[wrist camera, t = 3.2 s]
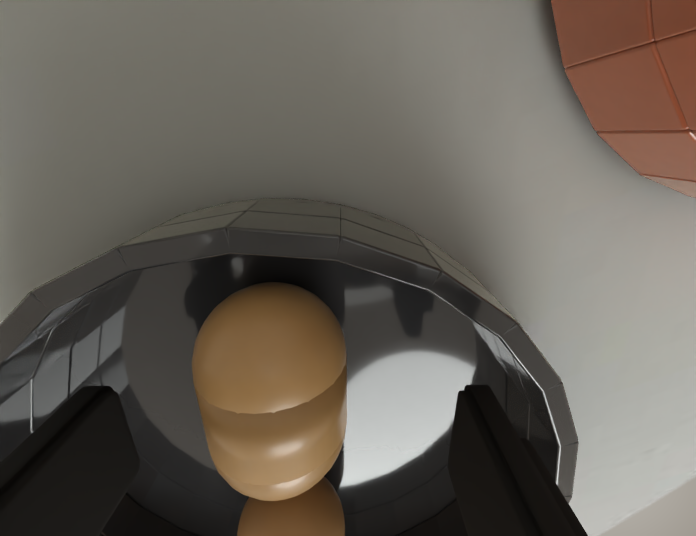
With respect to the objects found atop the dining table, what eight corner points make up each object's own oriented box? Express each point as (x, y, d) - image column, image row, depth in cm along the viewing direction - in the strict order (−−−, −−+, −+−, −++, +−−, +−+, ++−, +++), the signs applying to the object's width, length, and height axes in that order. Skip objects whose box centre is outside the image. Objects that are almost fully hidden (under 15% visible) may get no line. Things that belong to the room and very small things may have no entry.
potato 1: (213, 261, 10) (137, 336, 7) (345, 259, 11) (347, 333, 7) (240, 417, 13) (196, 538, 9) (346, 414, 13) (348, 534, 9)
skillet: (-46, 330, 12) (-208, 412, 8) (424, 89, 9) (476, 62, 6) (230, 580, 18) (204, 687, 15) (555, 479, 16) (617, 580, 12)
